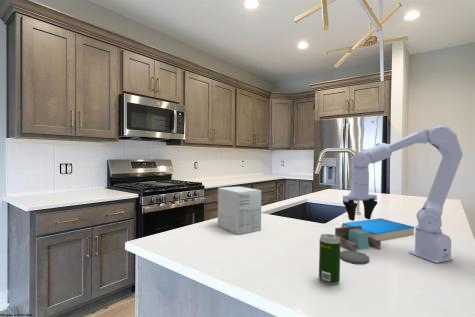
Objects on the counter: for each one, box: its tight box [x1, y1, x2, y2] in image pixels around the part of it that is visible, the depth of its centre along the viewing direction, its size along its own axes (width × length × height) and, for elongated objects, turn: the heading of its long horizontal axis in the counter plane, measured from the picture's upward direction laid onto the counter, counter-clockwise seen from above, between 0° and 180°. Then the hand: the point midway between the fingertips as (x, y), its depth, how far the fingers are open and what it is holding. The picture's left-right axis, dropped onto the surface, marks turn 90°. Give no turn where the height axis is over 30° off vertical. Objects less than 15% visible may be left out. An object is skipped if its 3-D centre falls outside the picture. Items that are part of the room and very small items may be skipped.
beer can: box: [318, 233, 341, 286], centre depth 72 cm, size 5×5×12 cm
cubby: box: [334, 226, 382, 251], centre depth 99 cm, size 10×12×6 cm
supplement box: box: [217, 186, 262, 235], centre depth 122 cm, size 17×13×18 cm
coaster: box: [340, 250, 370, 265], centre depth 88 cm, size 9×9×1 cm
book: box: [341, 217, 416, 241], centre depth 117 cm, size 17×4×25 cm
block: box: [349, 229, 369, 251], centre depth 99 cm, size 5×4×6 cm
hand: (359, 219), depth 102 cm, fingers open, 7 cm apart
